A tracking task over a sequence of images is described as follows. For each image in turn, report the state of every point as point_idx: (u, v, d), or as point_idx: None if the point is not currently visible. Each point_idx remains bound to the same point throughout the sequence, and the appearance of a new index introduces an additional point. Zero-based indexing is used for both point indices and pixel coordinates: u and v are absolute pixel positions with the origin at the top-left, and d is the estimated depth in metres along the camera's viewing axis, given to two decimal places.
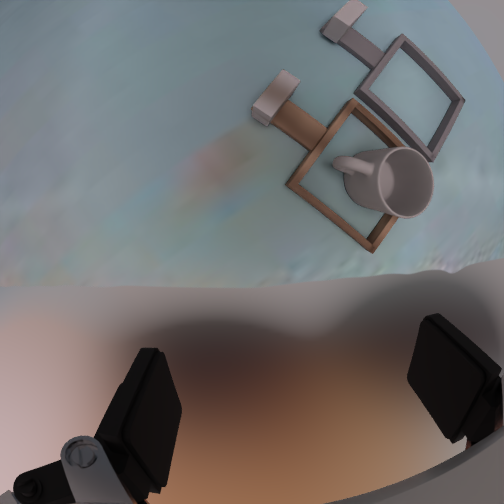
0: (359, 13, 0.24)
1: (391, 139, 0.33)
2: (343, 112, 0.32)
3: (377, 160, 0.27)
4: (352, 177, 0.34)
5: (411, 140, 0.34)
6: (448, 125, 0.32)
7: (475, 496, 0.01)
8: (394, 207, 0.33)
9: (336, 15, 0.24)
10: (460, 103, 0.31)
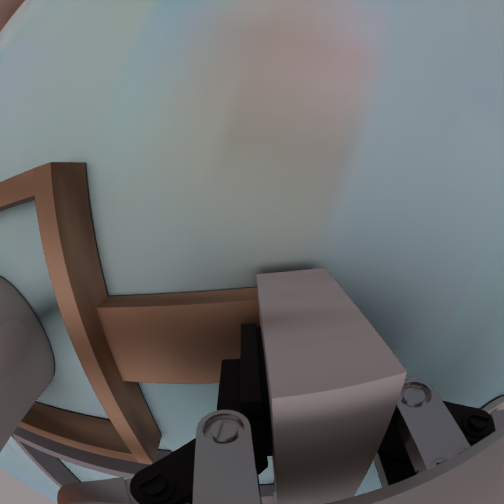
0: None
1: (47, 432, 0.11)
2: (133, 436, 0.11)
3: None
4: None
5: (43, 440, 0.13)
6: (55, 480, 0.14)
7: (475, 496, 0.01)
8: None
9: None
10: None
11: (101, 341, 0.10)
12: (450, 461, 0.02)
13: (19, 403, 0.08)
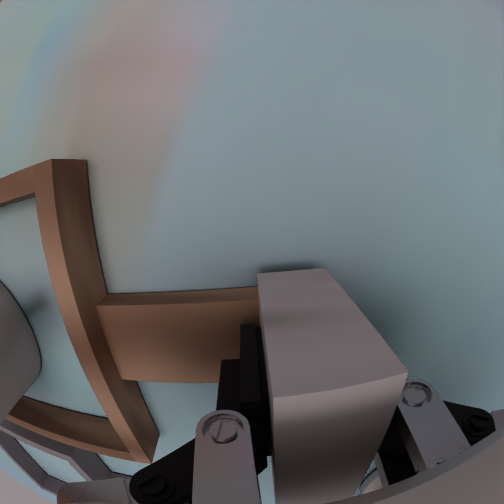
0: None
1: (45, 430, 0.11)
2: (131, 435, 0.11)
3: None
4: None
5: None
6: (11, 457, 0.14)
7: (475, 496, 0.01)
8: None
9: None
10: (37, 483, 0.16)
11: (100, 339, 0.10)
12: (450, 461, 0.02)
13: (5, 396, 0.08)
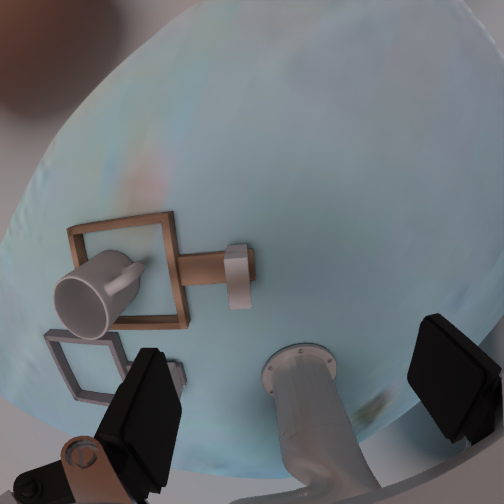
0: None
1: (134, 324, 0.37)
2: (182, 309, 0.36)
3: (110, 301, 0.28)
4: (121, 267, 0.33)
5: (63, 335, 0.38)
6: (61, 371, 0.39)
7: (475, 496, 0.01)
8: (75, 279, 0.31)
9: None
10: (73, 394, 0.41)
11: (177, 268, 0.35)
12: (450, 461, 0.02)
13: (128, 298, 0.34)
